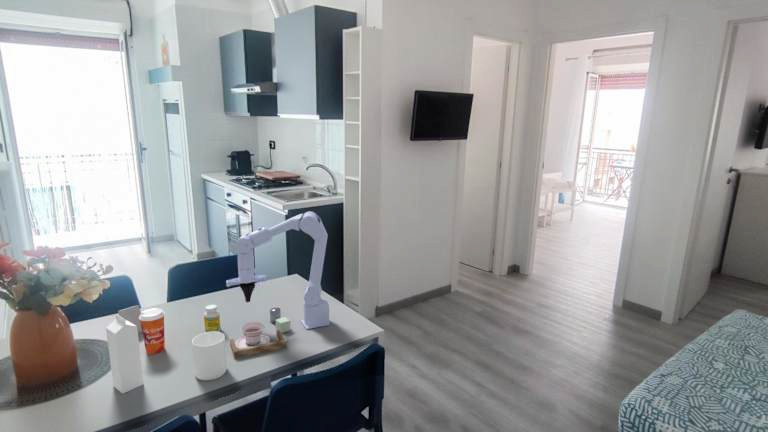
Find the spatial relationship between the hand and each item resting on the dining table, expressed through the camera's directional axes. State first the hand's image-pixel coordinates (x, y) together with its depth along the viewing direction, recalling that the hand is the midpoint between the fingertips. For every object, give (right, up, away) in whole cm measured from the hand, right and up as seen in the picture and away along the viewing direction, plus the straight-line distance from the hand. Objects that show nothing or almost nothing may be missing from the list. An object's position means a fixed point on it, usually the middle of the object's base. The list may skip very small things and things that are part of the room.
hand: (247, 301), depth 165 cm
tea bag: (-41, -11, -6) cm, 43 cm away
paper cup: (-26, -14, -17) cm, 34 cm away
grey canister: (+9, -9, +6) cm, 14 cm away
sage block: (+14, -11, -1) cm, 17 cm away
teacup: (+5, -13, -11) cm, 18 cm away
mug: (-3, -17, -29) cm, 33 cm away
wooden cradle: (+8, -13, -14) cm, 21 cm away
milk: (-24, -18, -37) cm, 47 cm away
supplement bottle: (-12, -11, -3) cm, 16 cm away
